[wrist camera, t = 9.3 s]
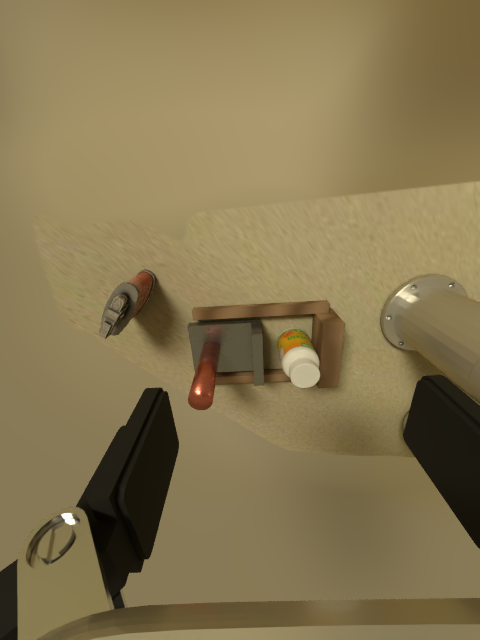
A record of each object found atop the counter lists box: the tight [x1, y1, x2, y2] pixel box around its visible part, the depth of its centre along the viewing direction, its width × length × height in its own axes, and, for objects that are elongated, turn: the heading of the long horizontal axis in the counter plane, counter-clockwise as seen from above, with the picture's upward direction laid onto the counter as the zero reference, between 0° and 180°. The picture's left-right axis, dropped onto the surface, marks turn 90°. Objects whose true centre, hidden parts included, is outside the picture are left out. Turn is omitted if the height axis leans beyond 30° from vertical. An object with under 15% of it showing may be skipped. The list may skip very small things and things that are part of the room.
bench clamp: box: [192, 300, 345, 388], centre depth 41 cm, size 22×14×6 cm, turn 94°
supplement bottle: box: [277, 328, 320, 388], centre depth 38 cm, size 5×5×10 cm
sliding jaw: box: [188, 319, 264, 410], centre depth 37 cm, size 12×9×13 cm
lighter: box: [98, 269, 156, 339], centre depth 35 cm, size 8×3×10 cm, turn 148°
